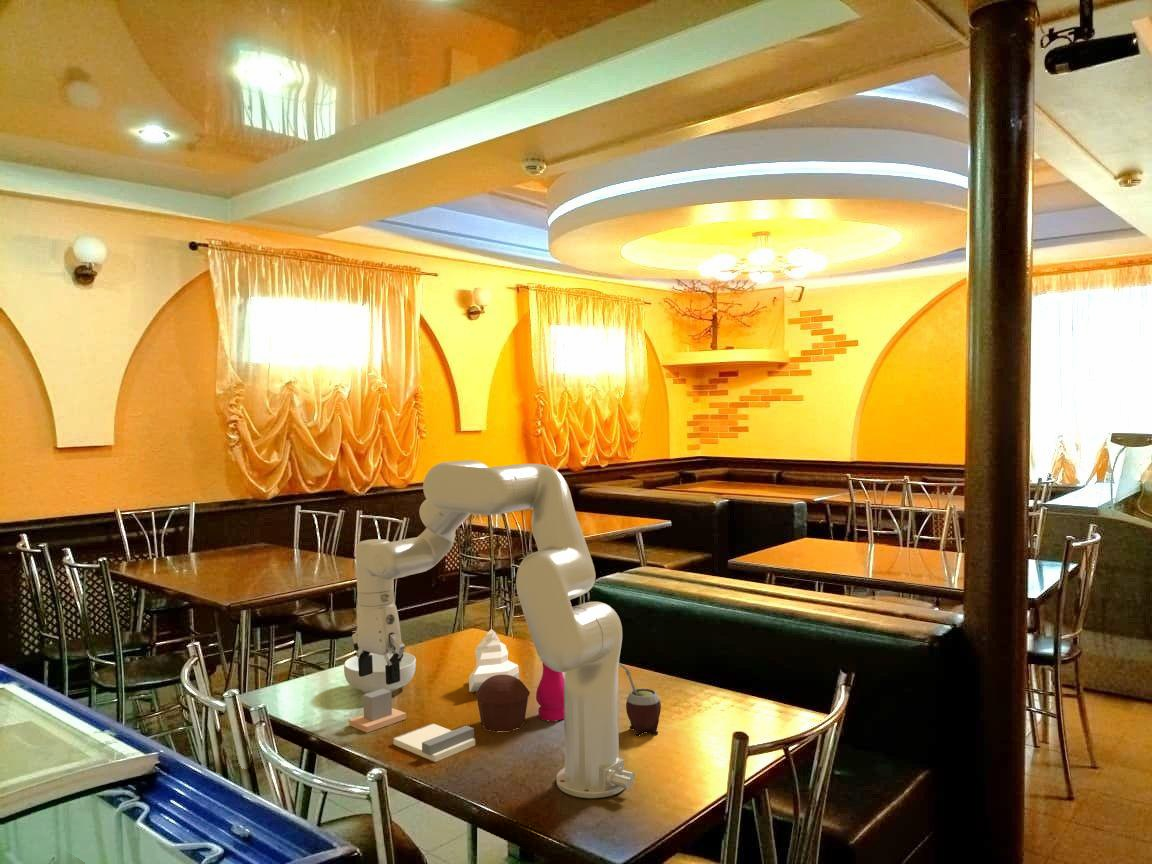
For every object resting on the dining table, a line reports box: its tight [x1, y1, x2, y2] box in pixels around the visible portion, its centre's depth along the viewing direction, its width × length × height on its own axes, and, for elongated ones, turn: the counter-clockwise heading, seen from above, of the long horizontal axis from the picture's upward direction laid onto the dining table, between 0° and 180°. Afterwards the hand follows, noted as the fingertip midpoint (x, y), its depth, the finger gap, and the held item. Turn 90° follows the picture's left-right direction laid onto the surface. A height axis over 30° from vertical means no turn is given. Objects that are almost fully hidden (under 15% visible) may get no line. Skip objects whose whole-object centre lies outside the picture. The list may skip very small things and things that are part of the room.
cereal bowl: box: [343, 652, 417, 694], centre depth 194 cm, size 17×17×7 cm
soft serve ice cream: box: [468, 628, 520, 693], centre depth 196 cm, size 12×15×14 cm
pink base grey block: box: [348, 689, 407, 733], centre depth 173 cm, size 6×10×6 cm, turn 139°
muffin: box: [474, 675, 531, 733], centre depth 171 cm, size 12×11×10 cm
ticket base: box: [392, 722, 476, 763], centre depth 161 cm, size 13×11×3 cm
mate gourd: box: [619, 662, 662, 737], centre depth 166 cm, size 8×8×15 cm
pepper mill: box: [535, 658, 565, 722], centre depth 175 cm, size 7×7×20 cm
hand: (379, 678), depth 173 cm, fingers open, 9 cm apart
